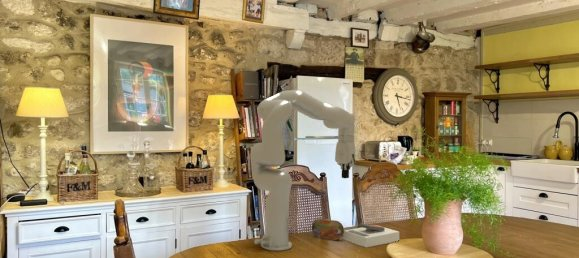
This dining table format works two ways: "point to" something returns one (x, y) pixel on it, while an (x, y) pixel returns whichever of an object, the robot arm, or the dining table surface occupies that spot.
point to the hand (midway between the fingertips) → (345, 177)
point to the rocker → (371, 227)
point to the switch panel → (370, 236)
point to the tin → (327, 229)
